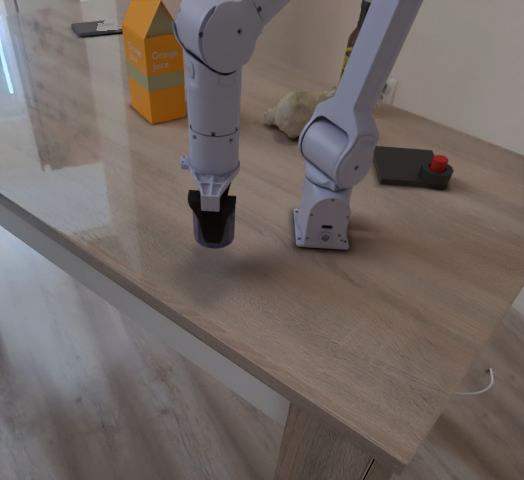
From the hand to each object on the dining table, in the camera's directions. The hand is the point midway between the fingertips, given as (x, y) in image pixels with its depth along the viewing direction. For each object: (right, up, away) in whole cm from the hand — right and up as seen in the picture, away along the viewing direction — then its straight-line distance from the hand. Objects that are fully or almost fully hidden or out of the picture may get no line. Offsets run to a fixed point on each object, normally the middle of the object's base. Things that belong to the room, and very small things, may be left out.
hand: (214, 227), depth 63 cm
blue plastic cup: (0, -1, +1) cm, 1 cm away
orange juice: (-15, +32, +33) cm, 48 cm away
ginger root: (+15, +28, +33) cm, 46 cm away
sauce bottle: (+25, +37, +42) cm, 61 cm away
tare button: (+38, +16, +22) cm, 46 cm away
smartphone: (-35, +67, +60) cm, 96 cm away
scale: (+33, +17, +26) cm, 46 cm away
